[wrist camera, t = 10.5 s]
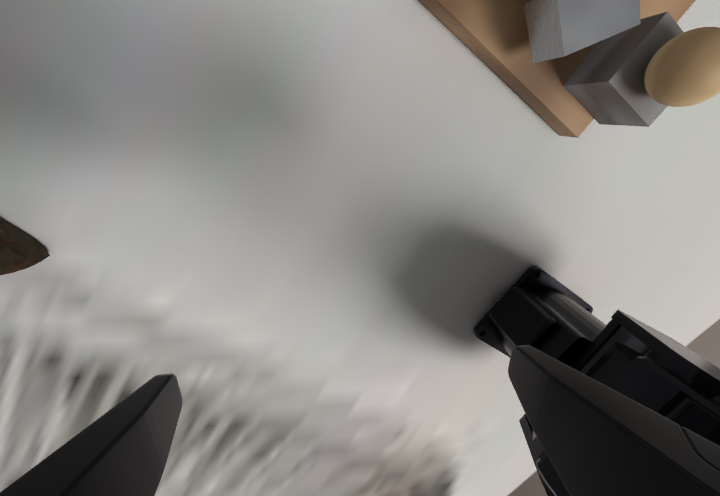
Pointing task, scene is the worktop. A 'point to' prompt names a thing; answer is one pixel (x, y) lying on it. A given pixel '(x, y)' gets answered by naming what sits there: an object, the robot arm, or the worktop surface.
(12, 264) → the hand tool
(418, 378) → the worktop surface
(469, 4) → the tan wooden panel
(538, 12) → the lever
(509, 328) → the robot arm
